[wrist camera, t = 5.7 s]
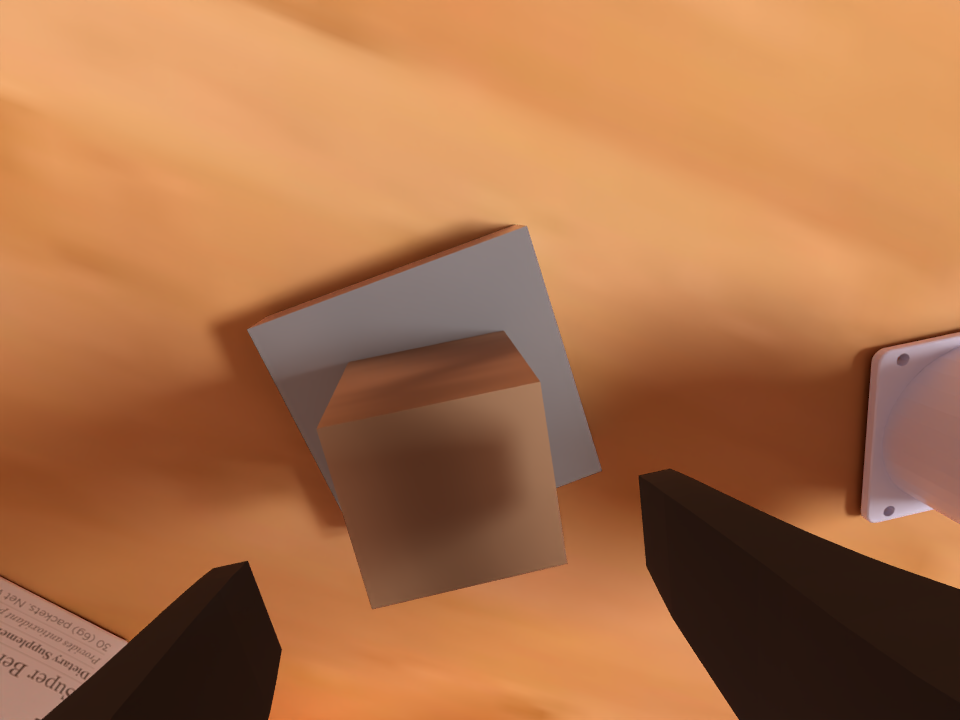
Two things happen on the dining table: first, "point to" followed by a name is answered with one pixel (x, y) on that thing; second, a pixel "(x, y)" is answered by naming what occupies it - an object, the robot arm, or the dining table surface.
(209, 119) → the dining table surface
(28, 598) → the supplement box
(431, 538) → the walnut block
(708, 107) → the dining table surface
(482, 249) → the plate
